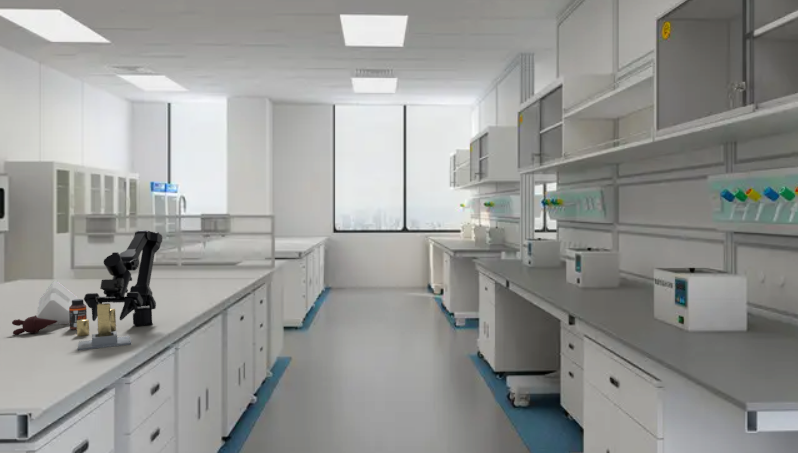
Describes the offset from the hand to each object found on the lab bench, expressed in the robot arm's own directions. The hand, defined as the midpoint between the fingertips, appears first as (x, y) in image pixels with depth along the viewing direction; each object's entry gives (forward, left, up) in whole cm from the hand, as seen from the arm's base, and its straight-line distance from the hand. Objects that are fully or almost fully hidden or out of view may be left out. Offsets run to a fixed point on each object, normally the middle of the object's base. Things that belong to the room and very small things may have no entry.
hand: (106, 320), depth 202 cm
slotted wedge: (+18, -51, -8) cm, 55 cm away
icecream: (+24, -34, -8) cm, 42 cm away
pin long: (+1, +2, -7) cm, 7 cm away
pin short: (+8, -19, -8) cm, 22 cm away
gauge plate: (+1, +2, -8) cm, 8 cm away
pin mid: (-1, -23, -8) cm, 24 cm away
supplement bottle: (+10, -34, -8) cm, 36 cm away
